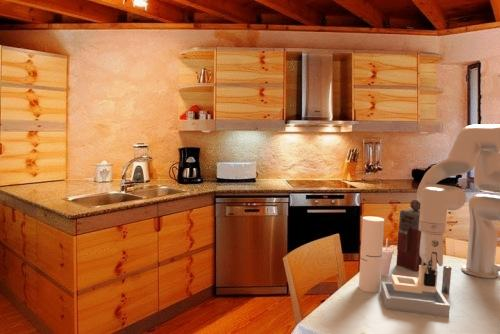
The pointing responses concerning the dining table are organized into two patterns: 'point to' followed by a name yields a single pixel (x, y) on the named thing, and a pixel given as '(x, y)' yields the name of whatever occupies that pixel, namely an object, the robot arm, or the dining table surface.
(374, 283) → the cylindrical container
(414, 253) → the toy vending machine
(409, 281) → the beige stepped block
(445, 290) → the post
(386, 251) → the smoothie
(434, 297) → the tray
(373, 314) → the dining table surface
